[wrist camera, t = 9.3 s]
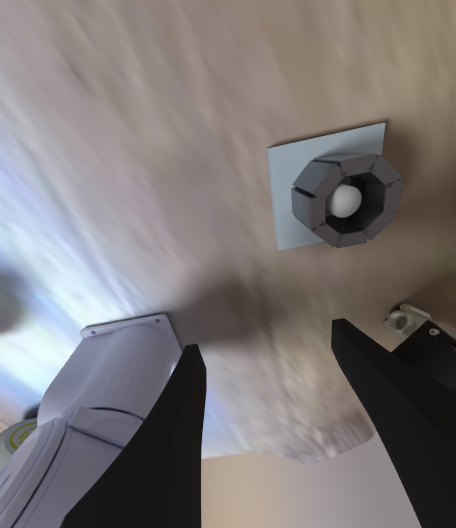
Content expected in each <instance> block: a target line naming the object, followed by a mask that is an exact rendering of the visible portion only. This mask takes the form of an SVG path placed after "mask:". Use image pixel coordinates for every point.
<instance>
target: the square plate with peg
mask: <svg viewBox="0 0 456 528" xmlns="http://www.w3.org/2000/svg"><path fill="white" fill-rule="evenodd" d="M384 132H385V123H380V124H375V125H370V126H366V127H361V128H357V129H352V130H348V131H343V132H339V133H334V134H329V135H325V136H320V137H316V138H311V139H307V140H302V141H298V142H293V143H289V144H284V145H280V146H275V147H271V148H266V151H267V161H268V170H269V180H270V190H271V200H272V210H273V219H274V229H275V239H276V247H277V248H278V250H279V251H280V250H285V249H290V248H295V247H300V246H305V245H311V244H316V243H321V242H325V241H324V240H323V239H321V238H320V237H318V236H317V235H316V234H314V233H313V232H312V231H311V230H309V229H308V228H307V227H306V226H305V225H304V224H302V223H301V222H300V221H299V220H298V219H297V218H296V217H294V214H293V213H292V200H291V188H296V187H295V186H294V185H292V184H293V183H294V181H295V180H296V179H297V177H298V176H299V175H300V173H301V172H302V171H303V169H304V168H305V167H306V165H307V164H308V163H309V161H312V162H314V158H319V157H323V156H328V155H333V154H337V153H376V154H379V155H382V149H383V140H384ZM360 203H361V193H360V191H359V190H358V189H357V188H355V187H352V186H350V178H349V177H348V176H346V177H344V178H343V179H342V180H341V181H340V182H339V184H338V185H337V186H336V187H335V188H334V190H333V191H332V192H331V193H330V194H329V196H328V197H327V198H326V199H325V217H326V216H331V215H335V216H337V217H341V218H343V217H348V216H350V215H352V214H353V213H354V212H355V211H356V210H357V209H358V208H359V206H360Z"/></svg>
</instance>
